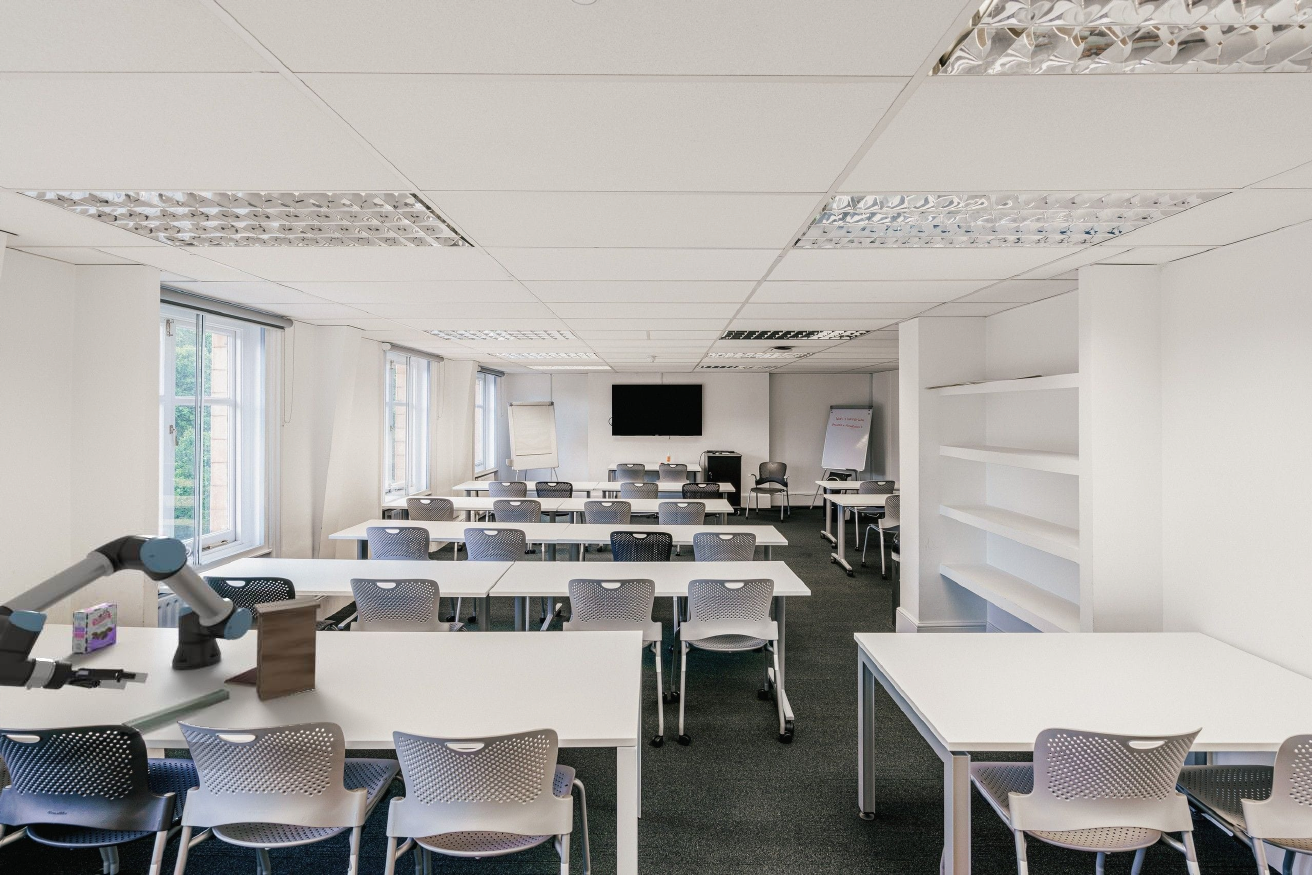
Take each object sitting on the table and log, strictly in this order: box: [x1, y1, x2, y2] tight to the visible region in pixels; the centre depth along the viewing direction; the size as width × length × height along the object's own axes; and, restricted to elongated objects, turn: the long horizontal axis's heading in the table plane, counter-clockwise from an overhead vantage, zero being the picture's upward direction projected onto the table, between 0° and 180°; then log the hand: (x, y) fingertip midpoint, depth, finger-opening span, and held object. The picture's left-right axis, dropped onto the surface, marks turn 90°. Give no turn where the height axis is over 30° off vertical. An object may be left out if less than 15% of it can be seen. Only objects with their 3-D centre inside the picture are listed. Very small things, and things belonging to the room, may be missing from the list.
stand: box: [253, 596, 322, 702], centre depth 214 cm, size 12×18×30 cm, turn 131°
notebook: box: [224, 666, 257, 688], centre depth 227 cm, size 15×20×2 cm
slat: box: [121, 688, 231, 732], centre depth 195 cm, size 4×28×3 cm, turn 155°
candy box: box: [71, 602, 118, 654], centre depth 250 cm, size 14×6×16 cm, turn 179°
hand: (135, 681), depth 191 cm, fingers open, 13 cm apart
